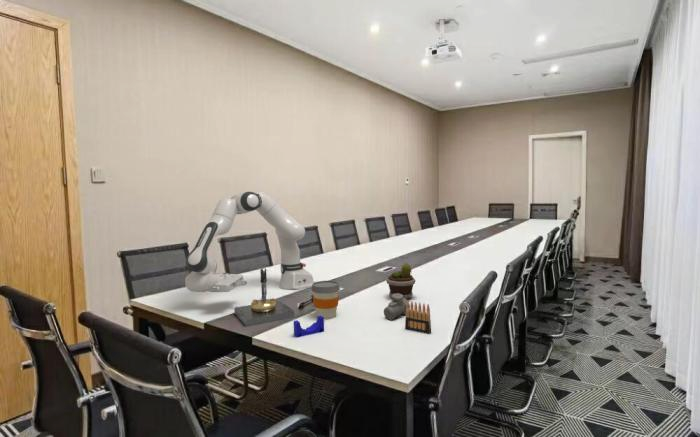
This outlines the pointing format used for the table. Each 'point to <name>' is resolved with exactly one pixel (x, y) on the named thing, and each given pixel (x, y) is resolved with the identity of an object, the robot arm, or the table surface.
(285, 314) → the cap plate
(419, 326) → the ammunition clip
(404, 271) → the flowerpot
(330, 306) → the reusable coffee cup
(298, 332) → the blue cradle stand
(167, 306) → the table surface
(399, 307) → the pipe fitting
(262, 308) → the brass base with rod
